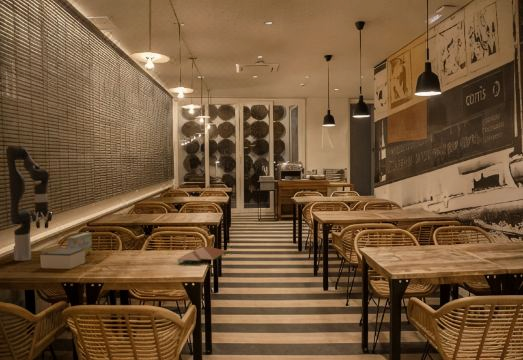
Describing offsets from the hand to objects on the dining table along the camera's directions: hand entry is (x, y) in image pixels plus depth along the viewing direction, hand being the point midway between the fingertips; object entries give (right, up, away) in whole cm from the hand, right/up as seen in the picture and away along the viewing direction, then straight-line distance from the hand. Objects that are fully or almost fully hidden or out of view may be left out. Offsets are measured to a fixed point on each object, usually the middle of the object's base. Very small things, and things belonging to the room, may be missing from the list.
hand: (42, 227), depth 292 cm
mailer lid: (+14, -15, -2) cm, 20 cm away
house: (+100, -22, +9) cm, 103 cm away
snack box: (+15, -22, +23) cm, 35 cm away
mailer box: (+14, -23, -1) cm, 27 cm away
